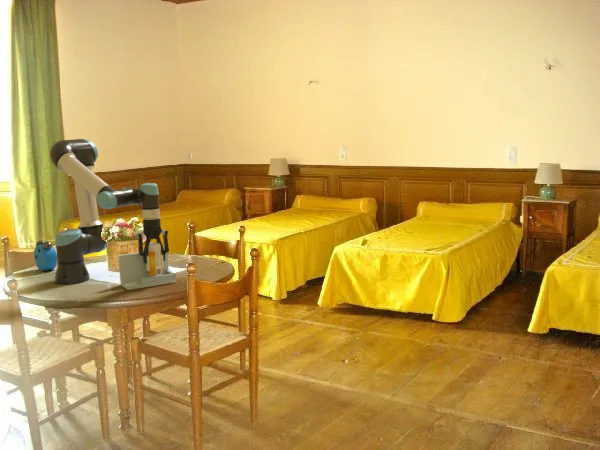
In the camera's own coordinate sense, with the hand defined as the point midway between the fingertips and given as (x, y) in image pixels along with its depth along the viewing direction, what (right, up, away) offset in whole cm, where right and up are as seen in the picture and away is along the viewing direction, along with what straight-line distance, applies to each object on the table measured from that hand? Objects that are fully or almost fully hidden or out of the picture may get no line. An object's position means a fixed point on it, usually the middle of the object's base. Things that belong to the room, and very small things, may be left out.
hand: (155, 269), depth 297 cm
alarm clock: (-62, -3, +35) cm, 71 cm away
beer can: (0, -3, +1) cm, 3 cm away
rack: (-3, -6, -1) cm, 7 cm away
